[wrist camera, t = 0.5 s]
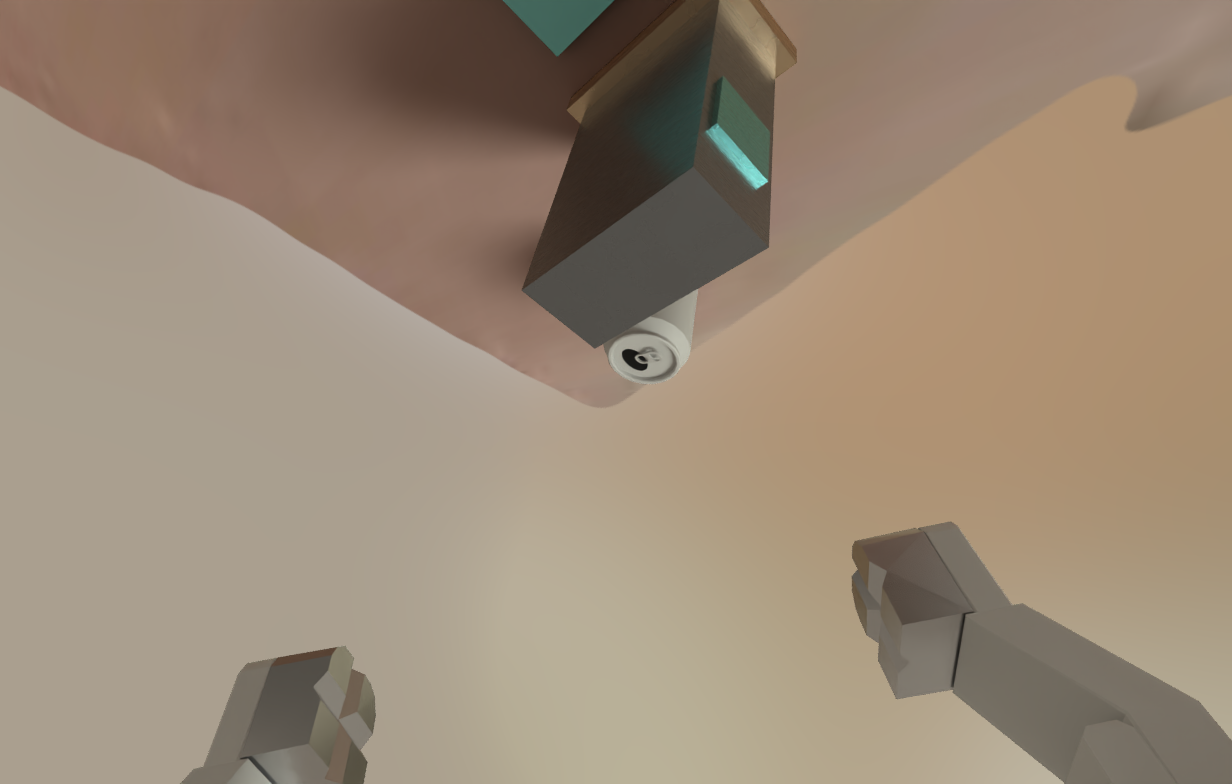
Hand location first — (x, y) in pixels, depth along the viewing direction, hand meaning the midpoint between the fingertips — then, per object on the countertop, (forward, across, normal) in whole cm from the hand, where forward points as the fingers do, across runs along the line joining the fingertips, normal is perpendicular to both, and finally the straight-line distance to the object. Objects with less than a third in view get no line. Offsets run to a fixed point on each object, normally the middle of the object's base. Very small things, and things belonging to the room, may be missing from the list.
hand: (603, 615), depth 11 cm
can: (+54, -6, +21) cm, 58 cm away
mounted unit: (+49, -9, +3) cm, 50 cm away
